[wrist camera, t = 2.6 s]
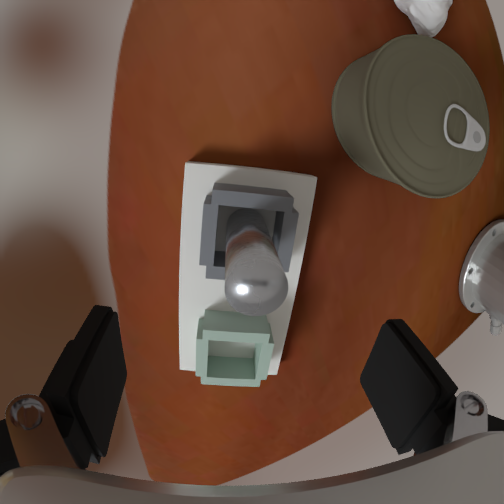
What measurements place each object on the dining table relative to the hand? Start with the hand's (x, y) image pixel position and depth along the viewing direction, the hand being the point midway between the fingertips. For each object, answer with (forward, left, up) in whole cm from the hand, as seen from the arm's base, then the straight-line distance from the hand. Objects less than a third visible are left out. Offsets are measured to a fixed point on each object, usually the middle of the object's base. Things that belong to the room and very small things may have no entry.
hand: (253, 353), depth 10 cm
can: (+2, -16, -16) cm, 23 cm away
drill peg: (0, 0, -15) cm, 15 cm away
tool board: (-5, +3, -16) cm, 17 cm away
